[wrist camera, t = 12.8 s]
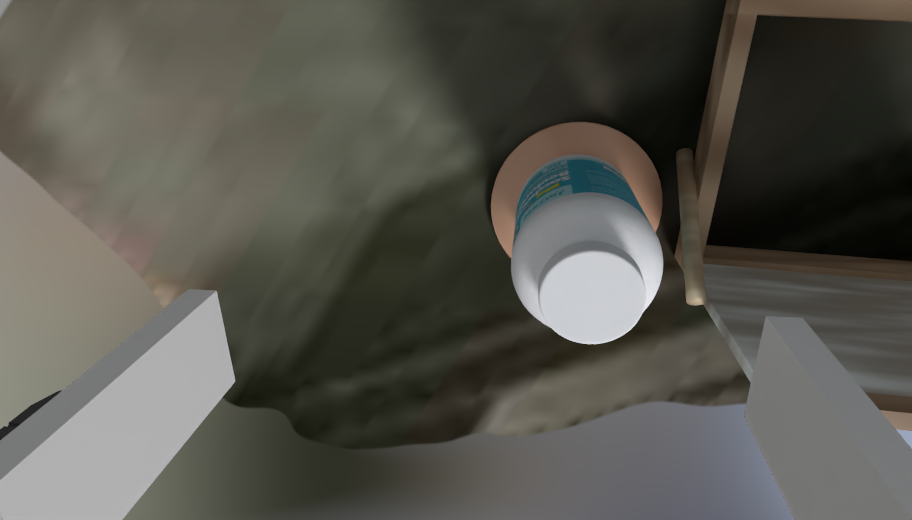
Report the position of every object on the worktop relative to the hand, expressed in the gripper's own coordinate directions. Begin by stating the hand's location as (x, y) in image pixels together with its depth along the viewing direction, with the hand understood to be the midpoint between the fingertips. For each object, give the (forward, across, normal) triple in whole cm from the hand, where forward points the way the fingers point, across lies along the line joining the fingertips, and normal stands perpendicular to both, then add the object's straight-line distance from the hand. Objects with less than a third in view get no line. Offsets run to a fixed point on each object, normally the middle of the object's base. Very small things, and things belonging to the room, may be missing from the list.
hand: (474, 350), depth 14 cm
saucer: (+25, +4, -4) cm, 26 cm away
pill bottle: (+25, +4, -4) cm, 26 cm away
